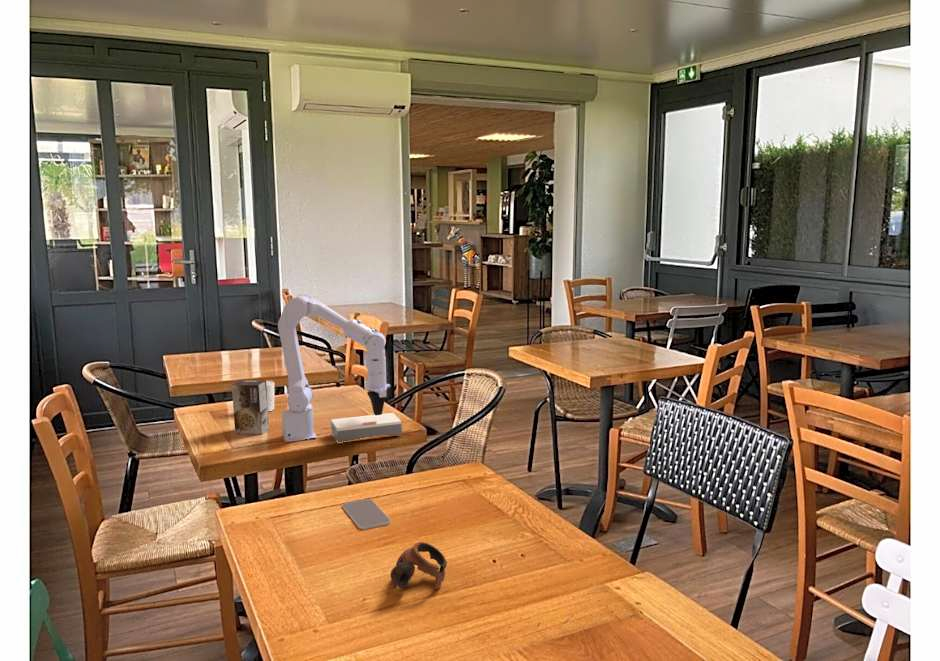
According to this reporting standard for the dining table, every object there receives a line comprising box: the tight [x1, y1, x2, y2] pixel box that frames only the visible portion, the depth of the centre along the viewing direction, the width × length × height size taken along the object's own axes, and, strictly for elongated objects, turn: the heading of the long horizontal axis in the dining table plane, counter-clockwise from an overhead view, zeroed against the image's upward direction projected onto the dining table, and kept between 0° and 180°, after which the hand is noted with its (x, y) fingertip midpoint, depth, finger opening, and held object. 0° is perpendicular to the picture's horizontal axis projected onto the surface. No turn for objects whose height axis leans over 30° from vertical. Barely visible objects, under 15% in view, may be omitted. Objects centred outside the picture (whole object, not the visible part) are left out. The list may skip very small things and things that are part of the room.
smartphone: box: [341, 498, 392, 531], centre depth 163 cm, size 7×1×15 cm
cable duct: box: [330, 421, 403, 442], centre depth 221 cm, size 20×10×4 cm, turn 112°
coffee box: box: [231, 379, 270, 435], centre depth 224 cm, size 9×6×16 cm
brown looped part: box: [390, 541, 448, 590], centre depth 131 cm, size 12×10×8 cm
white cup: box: [266, 380, 275, 412], centre depth 248 cm, size 8×8×10 cm
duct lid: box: [330, 412, 403, 431], centre depth 220 cm, size 20×10×1 cm, turn 112°
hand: (377, 414), depth 219 cm, fingers closed
